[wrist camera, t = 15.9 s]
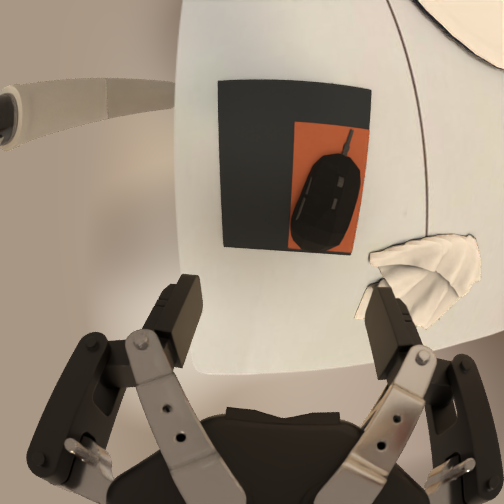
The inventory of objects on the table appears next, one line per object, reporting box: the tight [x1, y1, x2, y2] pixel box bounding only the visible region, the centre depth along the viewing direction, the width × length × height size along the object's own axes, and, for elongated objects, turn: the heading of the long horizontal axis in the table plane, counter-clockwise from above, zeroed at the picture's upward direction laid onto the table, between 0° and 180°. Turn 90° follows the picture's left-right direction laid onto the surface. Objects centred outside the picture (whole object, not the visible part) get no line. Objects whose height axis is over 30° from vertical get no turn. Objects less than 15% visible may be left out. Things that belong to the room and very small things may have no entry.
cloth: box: [354, 234, 481, 330], centre depth 33 cm, size 20×22×2 cm
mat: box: [218, 80, 371, 255], centre depth 28 cm, size 16×20×1 cm
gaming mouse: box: [290, 129, 361, 253], centre depth 27 cm, size 6×15×4 cm, turn 166°
